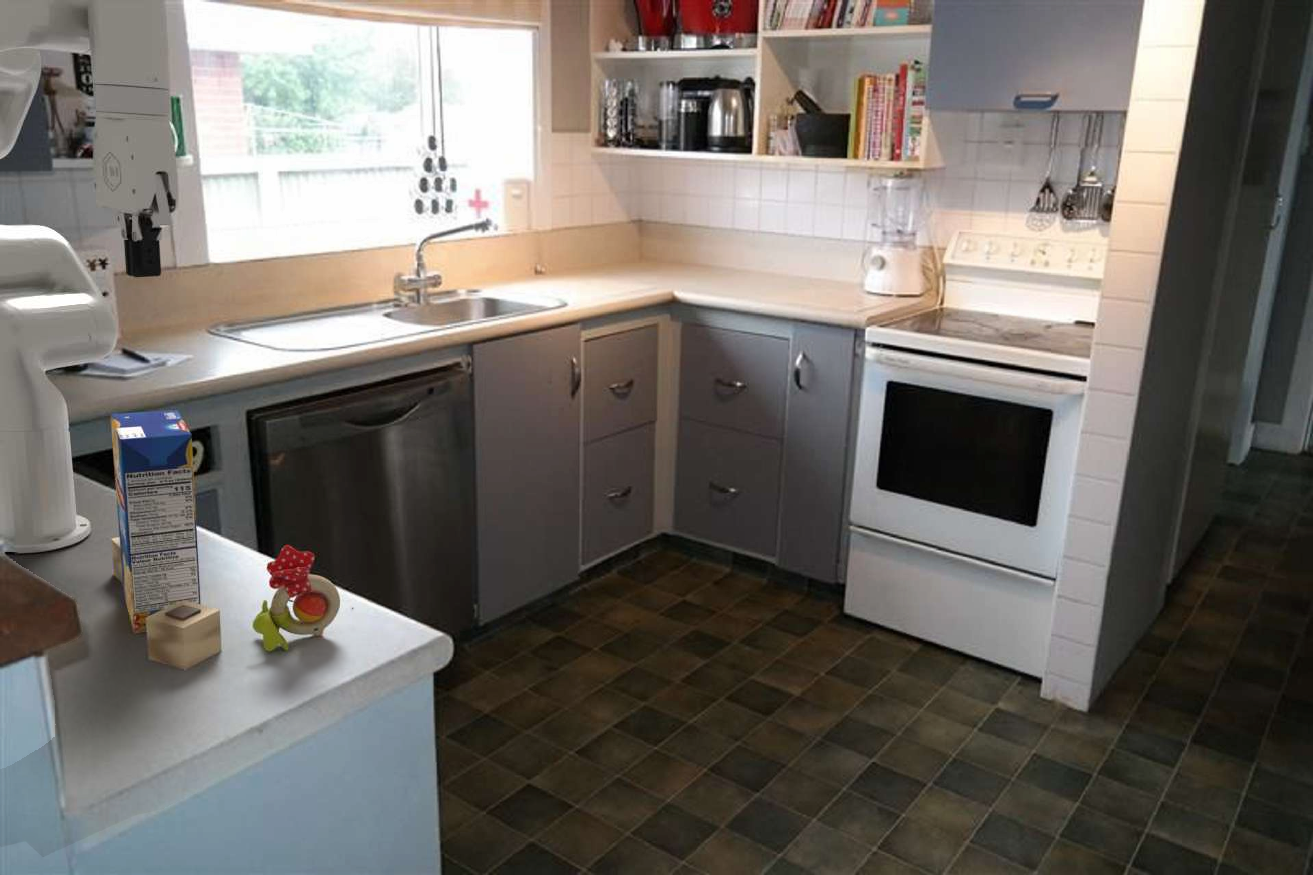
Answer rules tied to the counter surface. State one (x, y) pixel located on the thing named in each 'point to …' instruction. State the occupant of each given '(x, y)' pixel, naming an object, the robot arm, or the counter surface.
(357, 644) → the counter surface
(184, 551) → the beverage box
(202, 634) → the marked oak block near
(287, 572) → the bird rattle
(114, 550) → the marked oak block far
